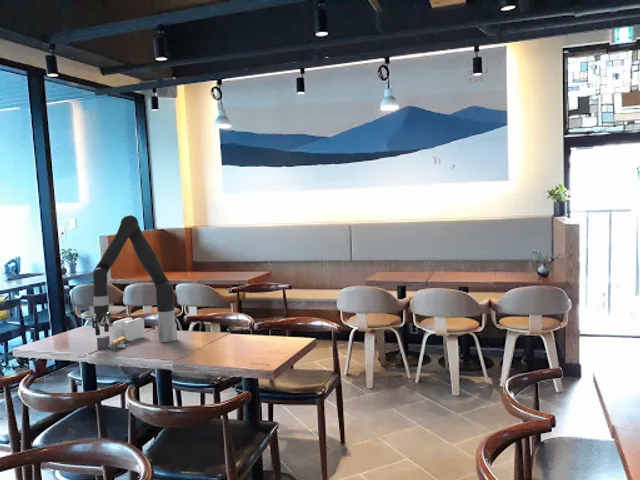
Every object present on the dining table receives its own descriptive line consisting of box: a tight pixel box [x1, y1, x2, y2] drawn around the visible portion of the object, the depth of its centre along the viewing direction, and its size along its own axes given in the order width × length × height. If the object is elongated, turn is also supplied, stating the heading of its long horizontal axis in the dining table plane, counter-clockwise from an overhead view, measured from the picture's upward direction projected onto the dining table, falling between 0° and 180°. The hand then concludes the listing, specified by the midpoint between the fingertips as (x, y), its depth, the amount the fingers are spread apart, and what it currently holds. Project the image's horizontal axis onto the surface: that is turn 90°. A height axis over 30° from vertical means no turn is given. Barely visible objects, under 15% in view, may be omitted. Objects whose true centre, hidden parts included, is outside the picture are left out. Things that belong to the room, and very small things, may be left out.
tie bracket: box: [110, 337, 127, 352], centre depth 285 cm, size 2×11×5 cm, turn 172°
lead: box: [96, 335, 127, 350], centre depth 285 cm, size 15×4×6 cm, turn 82°
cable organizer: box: [111, 317, 146, 342], centre depth 304 cm, size 15×11×12 cm
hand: (102, 333), depth 286 cm, fingers open, 8 cm apart
